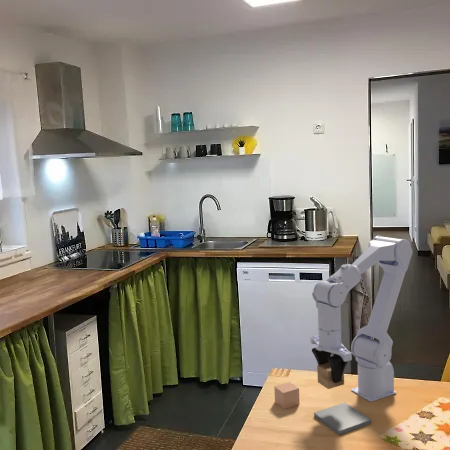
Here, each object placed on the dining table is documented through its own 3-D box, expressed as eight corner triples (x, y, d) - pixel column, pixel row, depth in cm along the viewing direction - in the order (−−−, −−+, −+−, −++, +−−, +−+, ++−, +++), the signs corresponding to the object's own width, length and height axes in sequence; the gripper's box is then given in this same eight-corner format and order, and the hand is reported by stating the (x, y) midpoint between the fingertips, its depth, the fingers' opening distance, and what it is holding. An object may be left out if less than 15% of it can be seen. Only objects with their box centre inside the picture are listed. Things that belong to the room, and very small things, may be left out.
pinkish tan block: (290, 397, 138) (289, 381, 138) (299, 404, 134) (299, 388, 134) (274, 402, 136) (274, 386, 136) (283, 409, 132) (283, 393, 132)
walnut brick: (333, 377, 132) (332, 361, 132) (344, 384, 128) (343, 367, 128) (317, 382, 130) (317, 365, 129) (328, 389, 126) (328, 371, 125)
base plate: (344, 406, 132) (344, 402, 132) (371, 423, 123) (371, 419, 123) (314, 416, 128) (314, 412, 128) (339, 434, 119) (339, 431, 119)
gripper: (300, 322, 132) (302, 371, 134) (334, 339, 119) (336, 393, 121) (322, 317, 135) (323, 365, 137) (358, 333, 122) (358, 386, 124)
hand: (330, 378), depth 129 cm, fingers closed on walnut brick, 4 cm apart
